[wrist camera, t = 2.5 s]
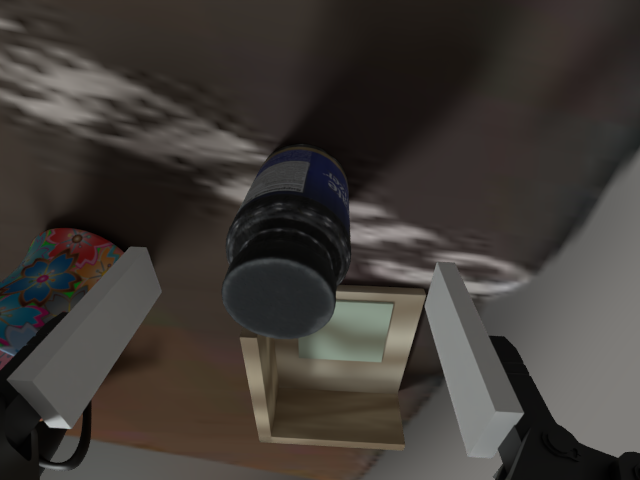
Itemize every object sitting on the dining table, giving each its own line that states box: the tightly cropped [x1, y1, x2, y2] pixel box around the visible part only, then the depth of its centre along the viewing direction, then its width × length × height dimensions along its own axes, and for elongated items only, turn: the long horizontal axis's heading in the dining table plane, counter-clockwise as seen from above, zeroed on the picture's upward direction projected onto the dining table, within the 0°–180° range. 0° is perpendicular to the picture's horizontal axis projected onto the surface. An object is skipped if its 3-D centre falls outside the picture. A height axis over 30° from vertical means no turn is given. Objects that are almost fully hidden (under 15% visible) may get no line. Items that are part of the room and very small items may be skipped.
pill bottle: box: [222, 144, 351, 339], centre depth 18 cm, size 6×6×11 cm
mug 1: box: [0, 228, 124, 421], centre depth 23 cm, size 12×9×11 cm
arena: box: [240, 285, 426, 450], centre depth 30 cm, size 16×14×6 cm
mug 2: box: [34, 400, 91, 476], centre depth 34 cm, size 8×12×10 cm
